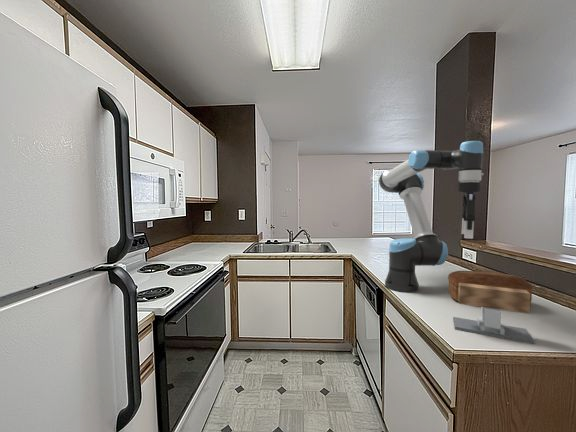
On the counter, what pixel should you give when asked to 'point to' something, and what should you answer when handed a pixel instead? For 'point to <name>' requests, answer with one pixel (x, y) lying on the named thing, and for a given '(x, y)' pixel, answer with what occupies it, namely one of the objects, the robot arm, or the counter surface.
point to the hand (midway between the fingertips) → (466, 236)
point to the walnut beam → (494, 297)
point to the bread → (486, 281)
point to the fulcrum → (492, 326)
